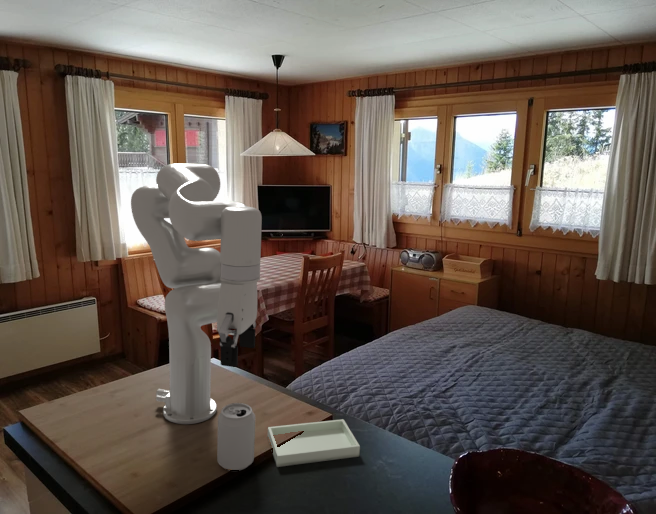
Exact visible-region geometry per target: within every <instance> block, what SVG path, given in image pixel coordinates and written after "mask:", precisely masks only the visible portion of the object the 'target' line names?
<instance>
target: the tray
mask: <svg viewBox="0 0 656 514" xmlns="http://www.w3.org/2000/svg"><path fill="white" fill-rule="evenodd" d="M298 431H304V432H303V433H302V434H301V435H298V436H296V437H295V438H293V439H291V440H290V441H288V442H286V443H285V444H283V445H281V446H280V447H277V444H276V441H275V438H274V436H273V435H278V434H285V433H290V432H298ZM268 437H269V439H270V442H271V445H272V448H273V453H272V456H273V459H274V462H275V465H276V467H277V468H279V467H280V468H281V467H286V466H287V467H288V466H294V465H302V464H303V465H304V464H310V463H311V464H312V463H318V462H325V461H334V460H340V459H341V460H343V459H349V458H351V459H352V458H357V457H360V450H361V446H360V444H359V442H358V441H357V439H356V437H355V436H354V434H353V432H352V430H350V428H349V426H348V424H347V422H346V421H345V419H343V418H342V419H333V420H325V421H315V422H313V421H312V422H303V423H294V424H287V425H286V424H285V425H276V426H275V425H274V426H268V427H267V438H268Z"/></svg>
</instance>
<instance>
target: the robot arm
mask: <svg viewBox="0 0 656 514" xmlns="http://www.w3.org/2000/svg"><path fill="white" fill-rule="evenodd" d="M155 181H156V184H149V185H144V186H141V187H139V188H137V189H135V190H134V192H132V195H131V198H130V207H131V214H132V217H133V220H134V223H135V225H136V228H137V229H138V231H139V232H140V234H141V236H142V238H144V240H145V242H146V243H147V245H148V246H149V249H150V252H151V253H152V254H151V255H152V257H153V260H154V263H155V266H156V268H157V271H158V274H159V277H160V280H161V281H162V283H163V284H164V286H166V288H169V289H171V290H170V291H169V292H168V293H167V294H166V296H165V298H164V311H165V317H166V321H167V329H168V340H169V341H168V346H169V347H168V349H169V389H162V388H158V389H157V390H156V393H155V396H156V397H155V401H156V402H160V403H161V402H163V403H165V404H164V406H163V408H162V414H163V415H162V416H163V417H164V418H165V419H166V420H167V421H169V422H171V423H174V424H178V425H193V424H199V423H201V422H202V423H203V422H205V421H207V420H209V419H211V418H212V417H213V416H215V414H216V413H217V408H218V407H217V406H218V405H217V403H216V401H215V400H214V399H213V398H211V376H212V375H211V374H212V373H211V368H212V366H211V365H212V362H211V361H212V360H211V359H212V358H211V357H212V346H211V345H212V343H211V340H210V338H209V336H208V335H207V333H206V332H205V331H203V330H202V328H201V327H202V326H205V325H210V324H213V323H216V330H217V332H218V335H219V339H218V340H219V346H220V365H221V366H223V367H231V368H236V367H237V366H238V364H239V363H238V360H239V359H238V358H239V346H240V347H241V348H246V349H247V348H249V349H254V348H255V347H256V327H257V322H256V320H257V318H258V317H257V316H258V282H259V281H261V258H262V257H261V254H262V253H261V252H262V250H261V249H262V225H263V224H262V222H263V221H262V219H263V218H262V213H261V211H260V210H259V209H258V208H256V207H253V206H248V205H247V204H245V203H243V202H241V201H237V200H236V201H234V200H232V201H231V200H230V201H227V200H226V201H221V200H218V201H217V200H215V199H216V198H217V196H218V195H219V194H220V189H221V179H220V175H219V173H218V171H217V170H216V169H215V168H214V167H213V166H212V165H209V164H206V163H205V164H203V163H180V162H179V163H170V164H166V165H164V166H163V167H162V168H160V169H159V170H158V171H157V173H156V178H155ZM166 219H169V221H170V222H168V221H167V220H166ZM185 239H186V240H190V241H193V242H194V241H195V242H197V241H198V242H199V241H200V242H201V241H214V240H215V241H217V240H220V251H219V250H217V249H216V248H213V247H198V248H197V247H196V248H195V247H190V246H188V244H187V243H186V240H185ZM233 329H234V330H233ZM231 336H233V337H231ZM238 339H239V346H238V345H237V344H238Z"/></svg>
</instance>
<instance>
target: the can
mask: <svg viewBox="0 0 656 514" xmlns="http://www.w3.org/2000/svg"><path fill="white" fill-rule="evenodd" d="M255 435H256V414H255V413H254V411H253V408H252V407H251V406H250V405H249V404H246V403H242V402H233V403H228V404H227V405H224V406H223V407H222V408H221V410H220V413H219V414H218V416H217V445H216V446H217V452H216V453H217V455H216V456H217V457H216V459H217V463H218V465H219V466H220V467H222V468H223V469H225V468H226V469H232V470H239V471H242V470H245V469H246V468H248V467H249V466H251V465H252V463H254V459H255V443H256V442H255V441H256V440H255V438H256V437H255ZM226 469H225V470H226Z"/></svg>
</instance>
